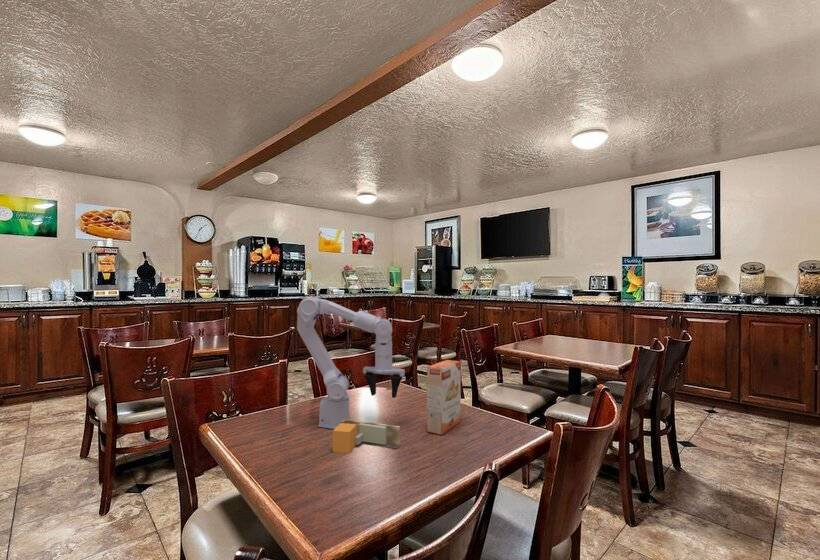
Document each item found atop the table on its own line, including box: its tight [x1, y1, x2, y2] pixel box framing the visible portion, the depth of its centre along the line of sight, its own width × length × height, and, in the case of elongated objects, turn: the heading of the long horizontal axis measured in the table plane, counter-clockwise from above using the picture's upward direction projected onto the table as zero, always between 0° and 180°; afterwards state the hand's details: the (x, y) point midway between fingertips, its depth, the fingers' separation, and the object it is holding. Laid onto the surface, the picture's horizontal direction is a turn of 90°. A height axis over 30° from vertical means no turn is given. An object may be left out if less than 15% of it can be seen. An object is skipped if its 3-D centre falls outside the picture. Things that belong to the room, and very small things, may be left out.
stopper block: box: [332, 423, 357, 454], centre depth 110 cm, size 5×6×6 cm
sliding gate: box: [355, 423, 387, 446], centre depth 111 cm, size 8×4×5 cm, turn 70°
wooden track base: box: [340, 418, 401, 450], centre depth 113 cm, size 18×3×6 cm, turn 70°
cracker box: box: [426, 359, 462, 436], centre depth 125 cm, size 14×6×21 cm, turn 148°
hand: (383, 395), depth 129 cm, fingers open, 7 cm apart
